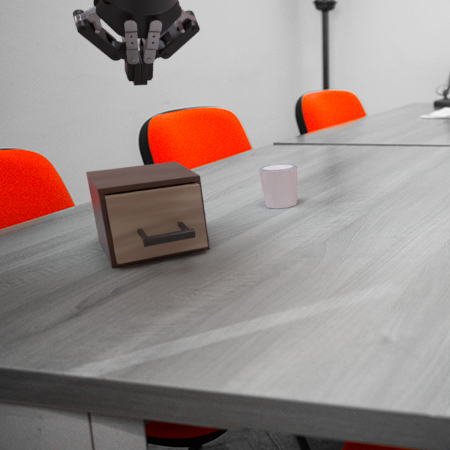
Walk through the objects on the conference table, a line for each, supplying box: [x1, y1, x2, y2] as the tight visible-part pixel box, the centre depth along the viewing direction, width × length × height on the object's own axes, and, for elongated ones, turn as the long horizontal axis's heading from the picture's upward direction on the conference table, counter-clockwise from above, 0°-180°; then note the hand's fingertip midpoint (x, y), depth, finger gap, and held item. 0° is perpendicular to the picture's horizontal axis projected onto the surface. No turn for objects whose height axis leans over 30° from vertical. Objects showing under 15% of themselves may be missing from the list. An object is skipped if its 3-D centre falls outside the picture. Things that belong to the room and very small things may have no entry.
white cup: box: [258, 163, 298, 210], centre depth 103 cm, size 7×7×7 cm
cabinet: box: [85, 161, 211, 269], centre depth 82 cm, size 15×13×11 cm
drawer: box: [105, 183, 208, 264], centre depth 78 cm, size 20×11×9 cm, turn 33°
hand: (138, 80), depth 69 cm, fingers closed
